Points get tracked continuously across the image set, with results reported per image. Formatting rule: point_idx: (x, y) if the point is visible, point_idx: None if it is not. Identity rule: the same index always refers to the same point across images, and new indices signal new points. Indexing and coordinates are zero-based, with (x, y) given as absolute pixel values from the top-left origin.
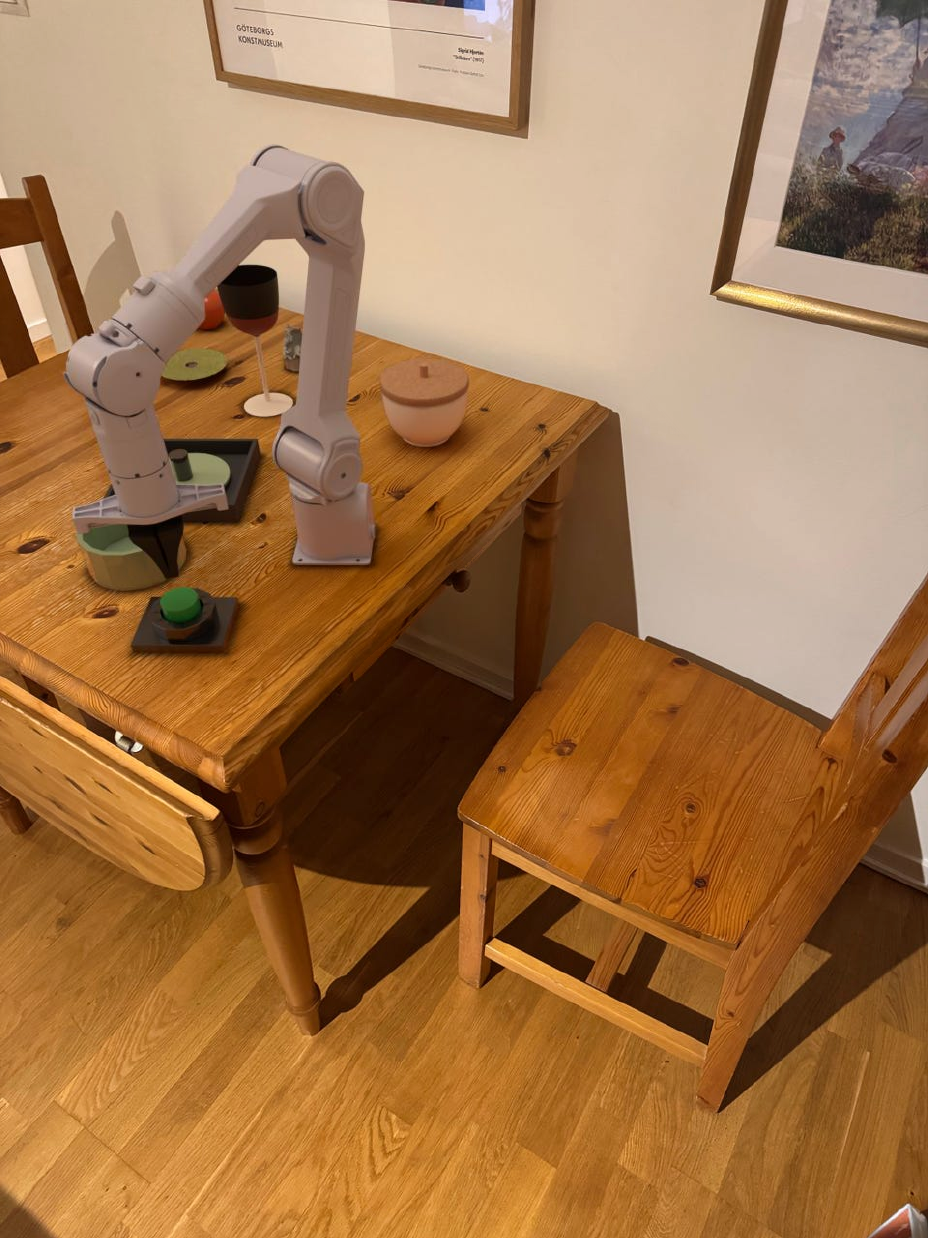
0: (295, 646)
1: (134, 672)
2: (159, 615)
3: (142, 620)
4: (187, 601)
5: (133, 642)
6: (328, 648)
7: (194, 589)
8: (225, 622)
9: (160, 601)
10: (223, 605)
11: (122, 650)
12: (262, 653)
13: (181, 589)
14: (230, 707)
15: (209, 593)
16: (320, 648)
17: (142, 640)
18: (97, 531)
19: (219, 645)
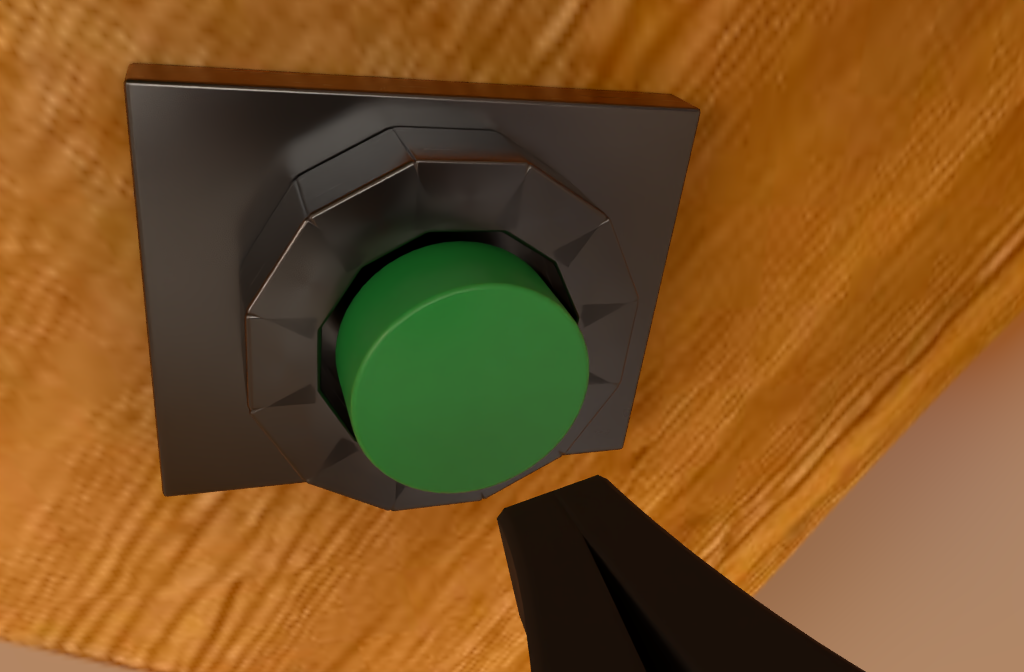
0: (860, 361)
1: (220, 557)
2: (328, 423)
3: (159, 321)
4: (533, 416)
5: (175, 482)
6: (959, 363)
7: (510, 181)
8: (636, 314)
9: (354, 427)
10: (626, 185)
11: (91, 448)
12: (743, 405)
13: (479, 312)
14: None
15: (605, 214)
16: (935, 365)
17: (221, 460)
18: None
19: (609, 448)
